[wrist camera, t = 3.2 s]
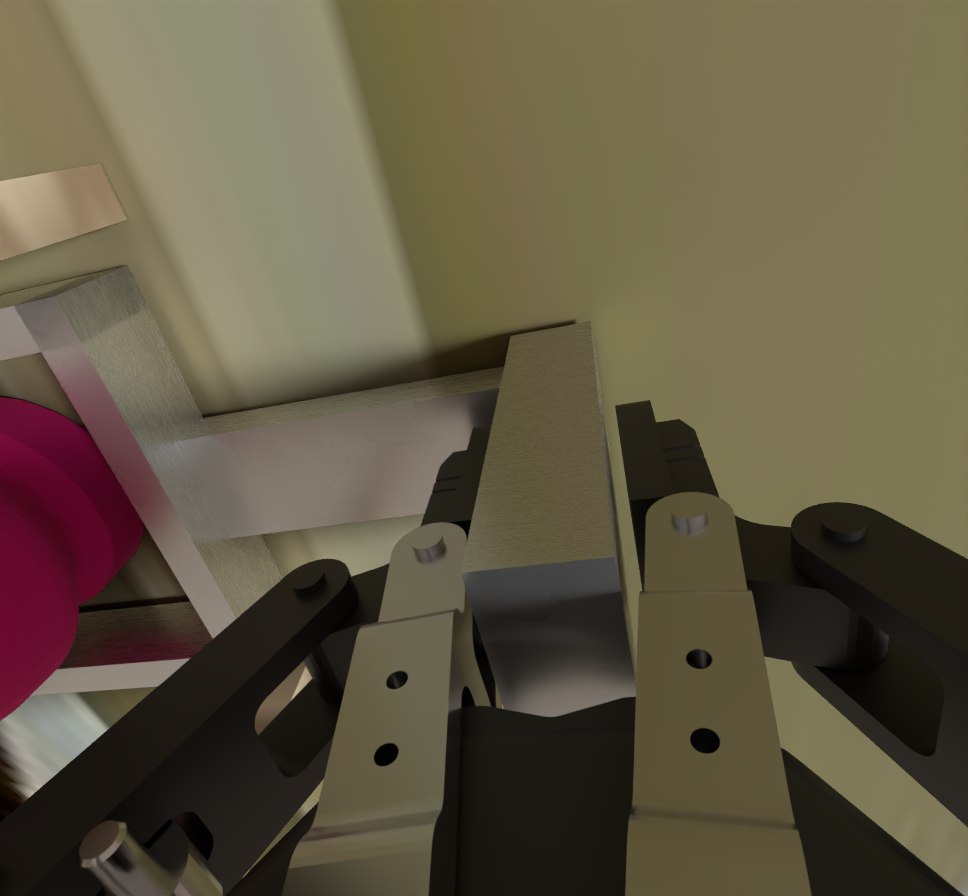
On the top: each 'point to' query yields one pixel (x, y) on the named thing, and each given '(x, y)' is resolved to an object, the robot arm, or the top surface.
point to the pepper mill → (52, 540)
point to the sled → (347, 493)
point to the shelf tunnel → (69, 213)
